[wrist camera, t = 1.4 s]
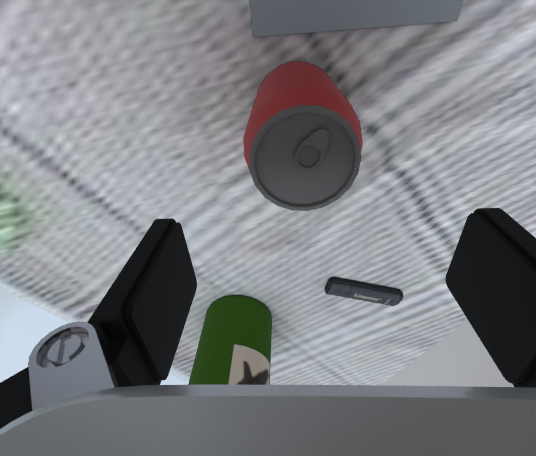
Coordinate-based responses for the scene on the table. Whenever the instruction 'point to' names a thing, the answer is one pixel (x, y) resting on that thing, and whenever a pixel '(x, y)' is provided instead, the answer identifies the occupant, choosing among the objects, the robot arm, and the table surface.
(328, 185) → the beer can
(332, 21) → the mat
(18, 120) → the table surface
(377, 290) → the usb stick
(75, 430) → the robot arm
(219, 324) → the wine bottle
